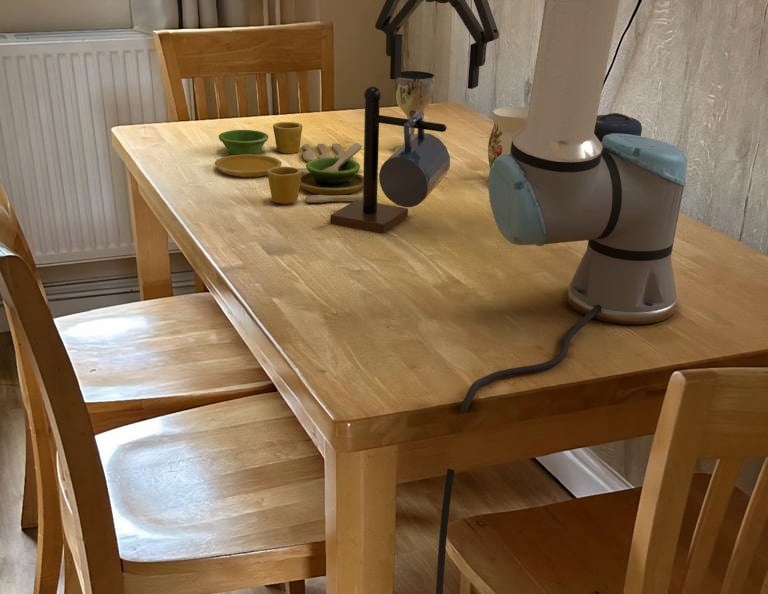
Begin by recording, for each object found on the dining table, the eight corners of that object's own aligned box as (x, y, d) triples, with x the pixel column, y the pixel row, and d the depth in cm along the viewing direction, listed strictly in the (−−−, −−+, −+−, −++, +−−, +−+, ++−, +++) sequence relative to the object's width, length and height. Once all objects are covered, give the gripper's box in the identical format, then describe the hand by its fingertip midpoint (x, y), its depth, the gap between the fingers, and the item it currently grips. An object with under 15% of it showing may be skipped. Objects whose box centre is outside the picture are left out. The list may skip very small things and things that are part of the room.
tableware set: (377, 205, 188) (378, 169, 185) (220, 209, 184) (218, 172, 181) (344, 144, 223) (344, 113, 219) (211, 146, 218) (209, 115, 215)
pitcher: (520, 168, 211) (527, 96, 204) (557, 194, 197) (566, 118, 190) (468, 171, 209) (474, 98, 201) (503, 198, 194) (510, 121, 187)
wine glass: (406, 143, 225) (409, 69, 217) (437, 150, 221) (442, 74, 213) (384, 151, 219) (387, 75, 211) (416, 158, 215) (419, 80, 207)
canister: (627, 230, 181) (645, 121, 171) (572, 225, 182) (586, 117, 173) (628, 213, 189) (644, 109, 179) (574, 208, 190) (588, 104, 181)
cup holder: (428, 241, 173) (435, 102, 161) (330, 223, 179) (330, 88, 167) (451, 224, 181) (459, 90, 169) (356, 207, 187) (358, 77, 175)
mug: (380, 202, 175) (403, 178, 181) (428, 211, 172) (450, 185, 178) (375, 125, 166) (400, 102, 172) (426, 133, 163) (449, 109, 169)
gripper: (527, -62, 158) (514, 87, 170) (377, -72, 167) (374, 70, 178) (510, -58, 153) (498, 95, 164) (356, -69, 161) (354, 77, 172)
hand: (433, 82), depth 171 cm, fingers open, 13 cm apart
